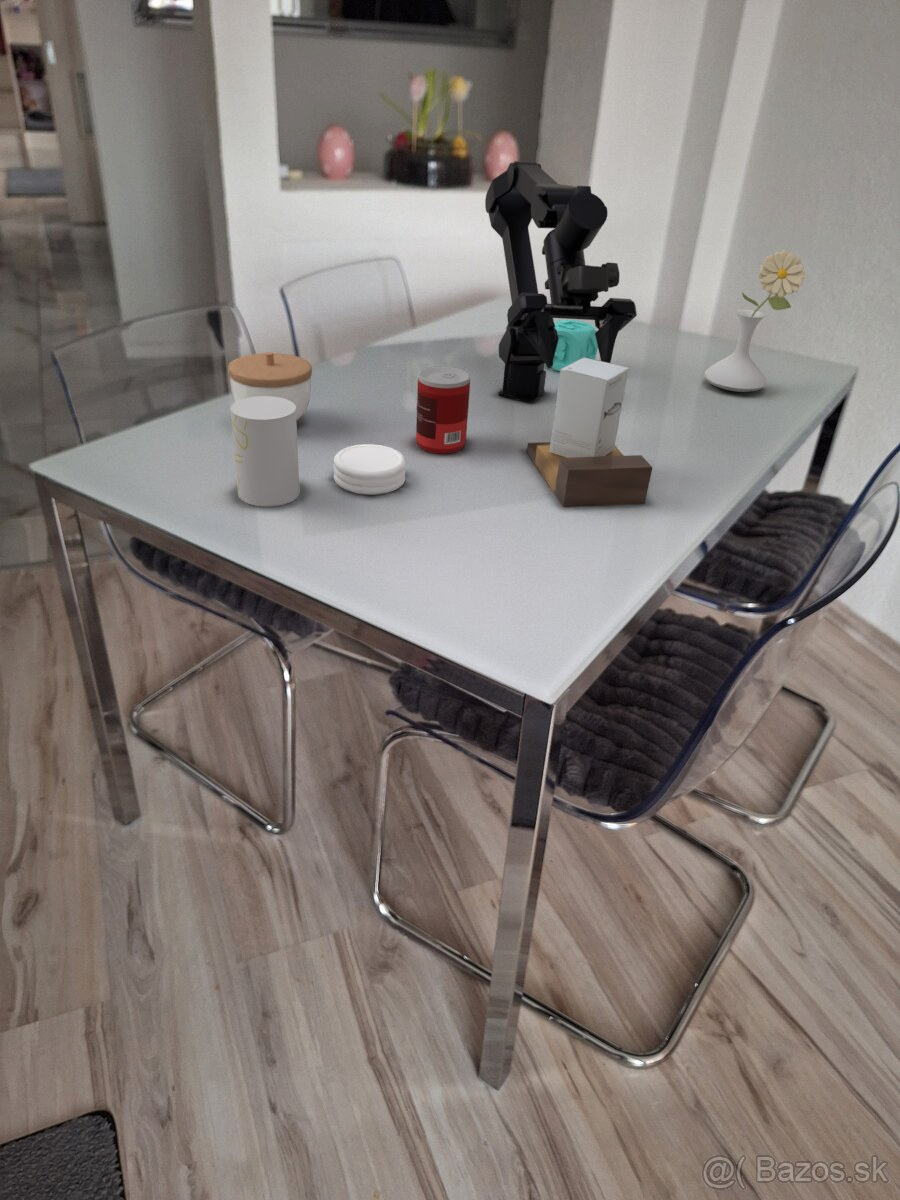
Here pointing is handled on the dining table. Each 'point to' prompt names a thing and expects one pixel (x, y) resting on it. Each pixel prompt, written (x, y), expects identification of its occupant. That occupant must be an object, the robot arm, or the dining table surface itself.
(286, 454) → the cup
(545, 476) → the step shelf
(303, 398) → the lidded bowl
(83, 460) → the dining table surface
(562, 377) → the white packaging box
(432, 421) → the canned food
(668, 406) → the dining table surface
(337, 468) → the coaster
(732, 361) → the flower in vase
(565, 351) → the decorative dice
